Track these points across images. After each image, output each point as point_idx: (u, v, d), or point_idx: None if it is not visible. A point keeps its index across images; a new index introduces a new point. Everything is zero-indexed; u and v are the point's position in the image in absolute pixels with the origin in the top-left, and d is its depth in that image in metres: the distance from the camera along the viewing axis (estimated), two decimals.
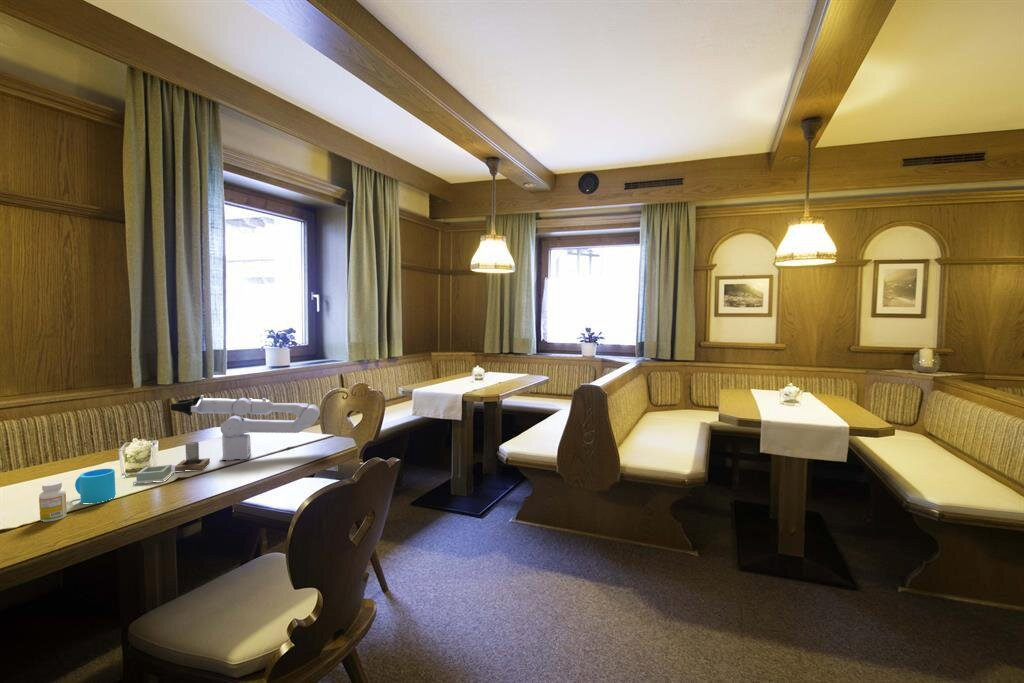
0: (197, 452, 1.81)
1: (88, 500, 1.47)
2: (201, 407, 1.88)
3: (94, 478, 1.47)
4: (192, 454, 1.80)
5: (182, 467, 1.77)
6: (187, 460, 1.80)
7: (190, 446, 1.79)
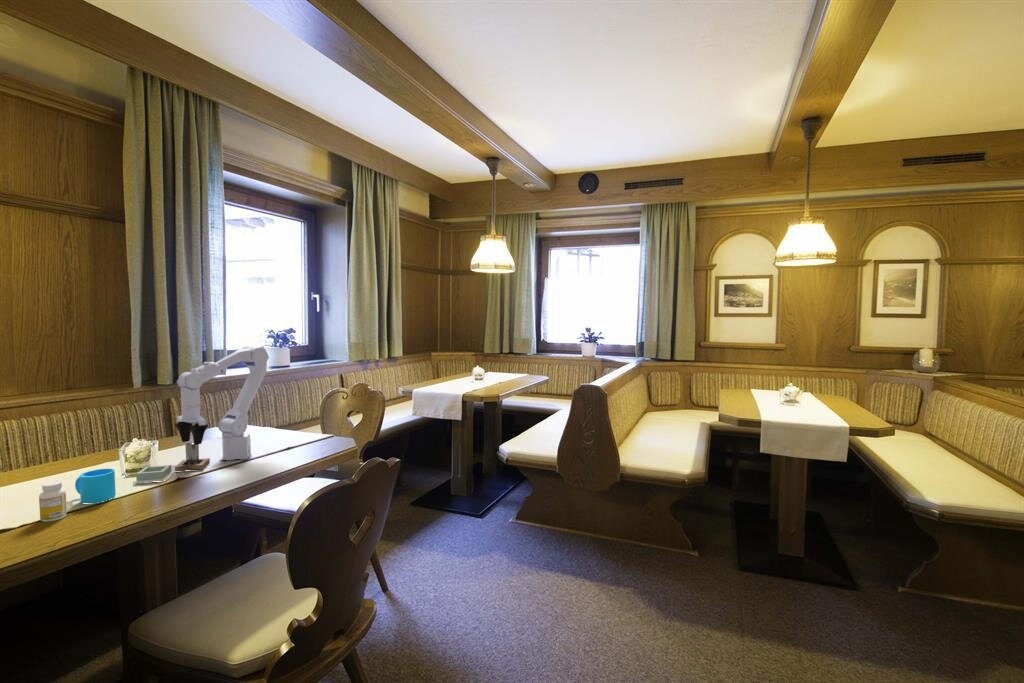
0: (197, 452, 1.81)
1: (88, 500, 1.47)
2: (196, 417, 1.79)
3: (94, 478, 1.47)
4: (192, 454, 1.80)
5: (182, 467, 1.77)
6: (187, 460, 1.80)
7: (190, 446, 1.79)
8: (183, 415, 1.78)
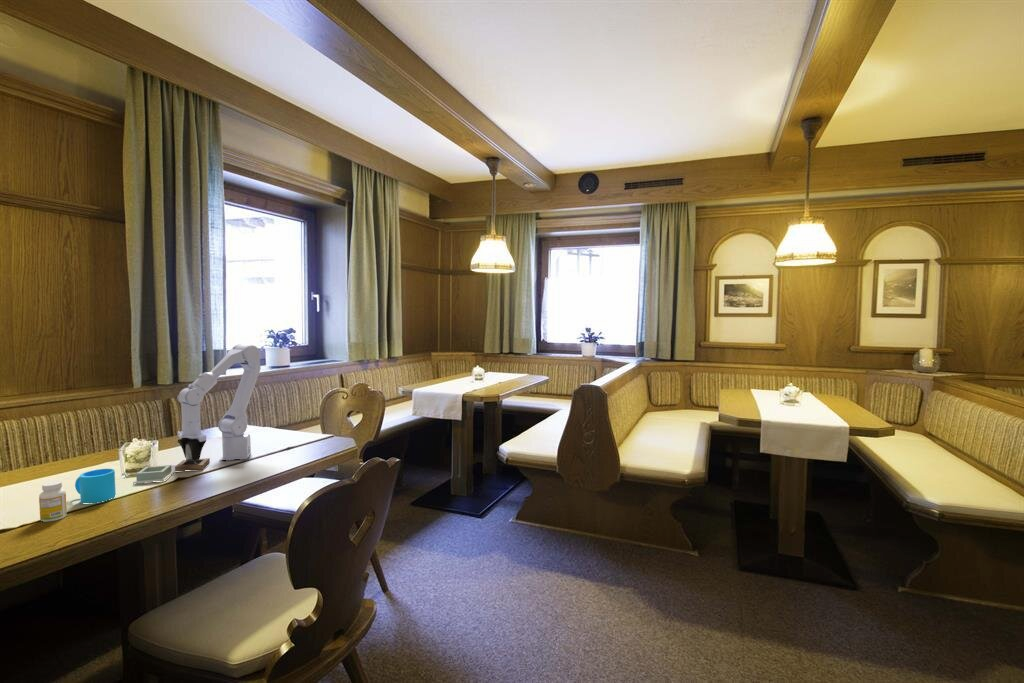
0: None
1: (88, 500, 1.47)
2: (196, 433, 1.80)
3: (94, 478, 1.47)
4: None
5: (182, 467, 1.77)
6: (187, 460, 1.80)
7: None
8: (184, 431, 1.78)
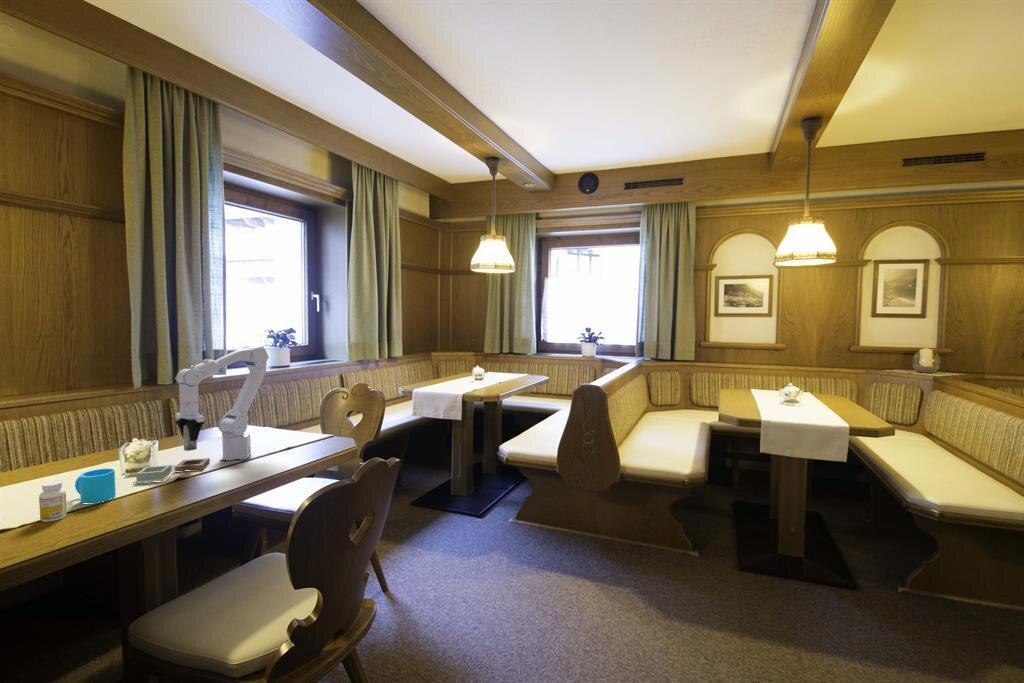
0: None
1: (88, 500, 1.47)
2: (194, 414, 1.79)
3: (94, 478, 1.47)
4: None
5: (182, 467, 1.77)
6: (185, 441, 1.79)
7: None
8: (181, 412, 1.77)
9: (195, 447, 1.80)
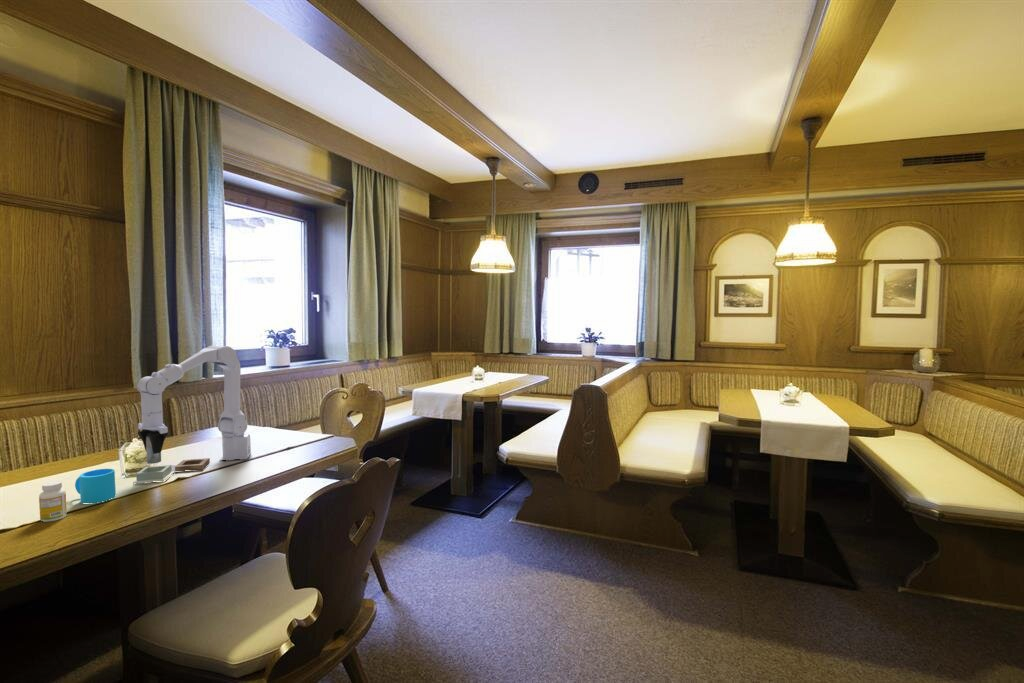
0: None
1: (88, 500, 1.47)
2: (157, 424, 1.67)
3: (94, 478, 1.47)
4: None
5: (182, 467, 1.77)
6: (147, 453, 1.67)
7: None
8: (143, 422, 1.66)
9: (159, 460, 1.69)
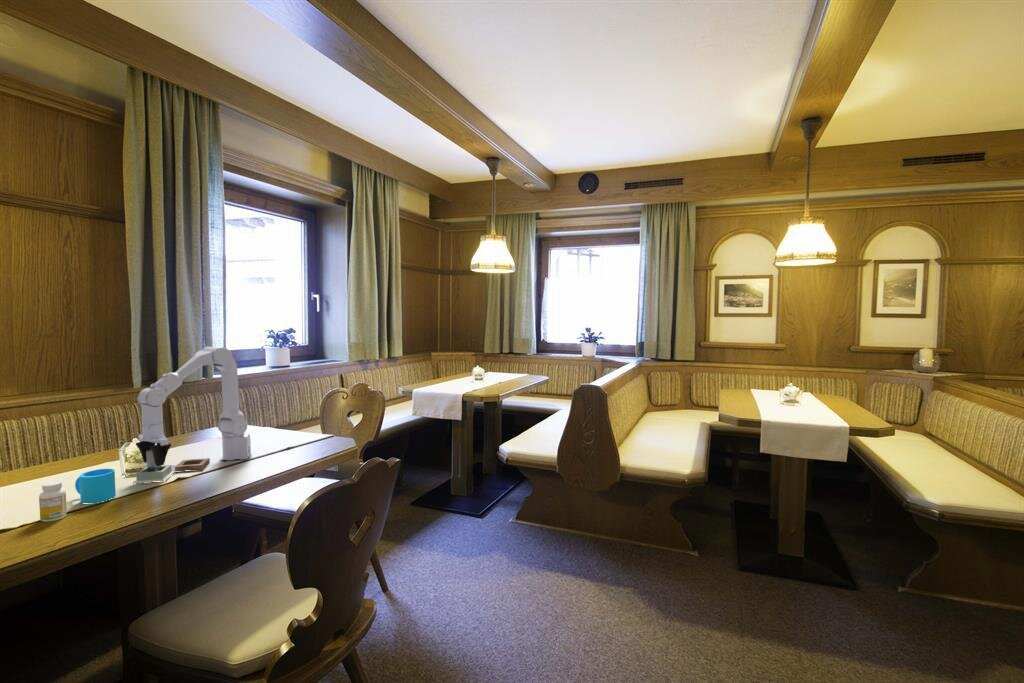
0: None
1: (88, 500, 1.47)
2: (158, 436, 1.68)
3: (94, 478, 1.47)
4: (153, 461, 1.68)
5: (182, 467, 1.77)
6: (148, 468, 1.68)
7: (151, 453, 1.67)
8: (144, 434, 1.66)
9: None
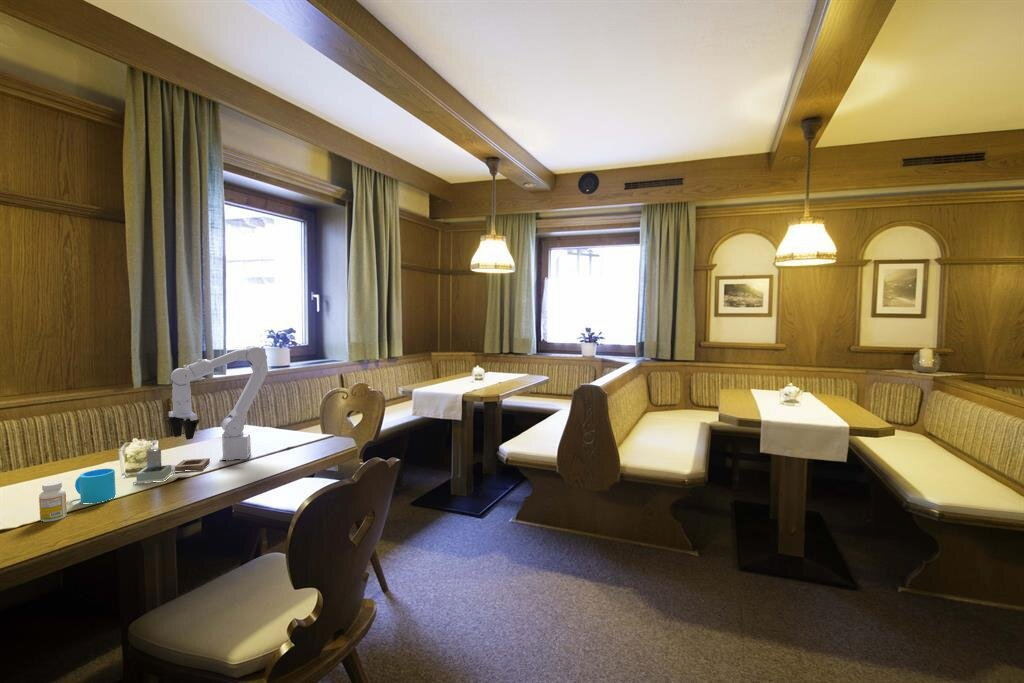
0: (159, 459, 1.69)
1: (88, 500, 1.47)
2: (187, 412, 1.82)
3: (94, 478, 1.47)
4: (153, 461, 1.68)
5: (182, 467, 1.77)
6: (148, 468, 1.68)
7: (151, 453, 1.67)
8: (174, 410, 1.81)
9: None
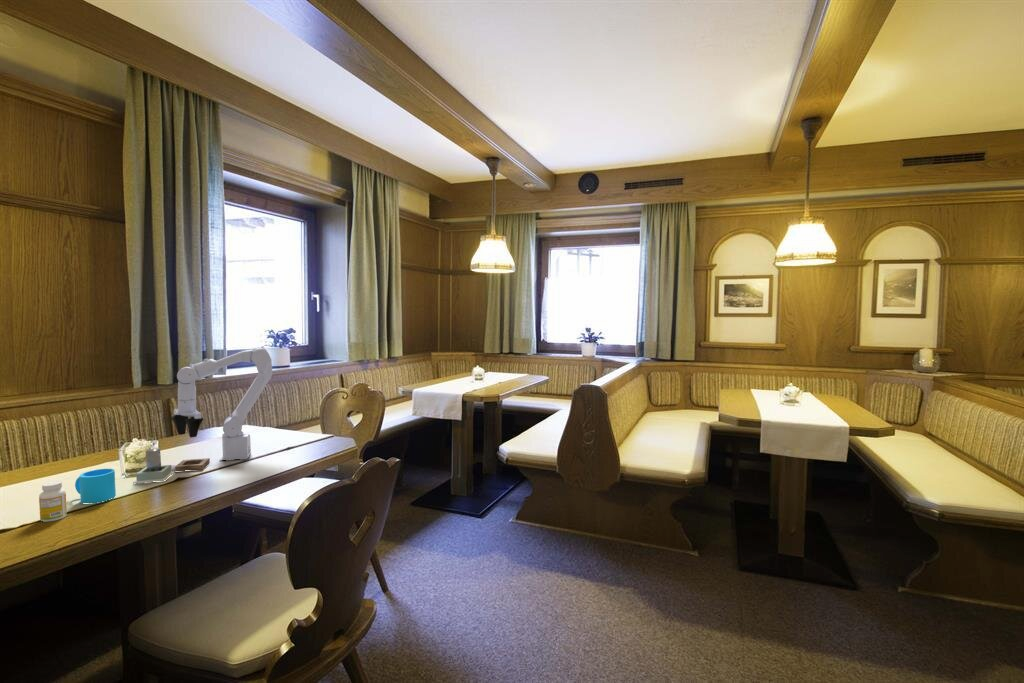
0: (159, 459, 1.69)
1: (88, 500, 1.47)
2: (191, 411, 1.85)
3: (94, 478, 1.47)
4: (153, 461, 1.68)
5: (182, 467, 1.77)
6: (148, 468, 1.68)
7: (151, 453, 1.67)
8: (179, 408, 1.84)
9: None
